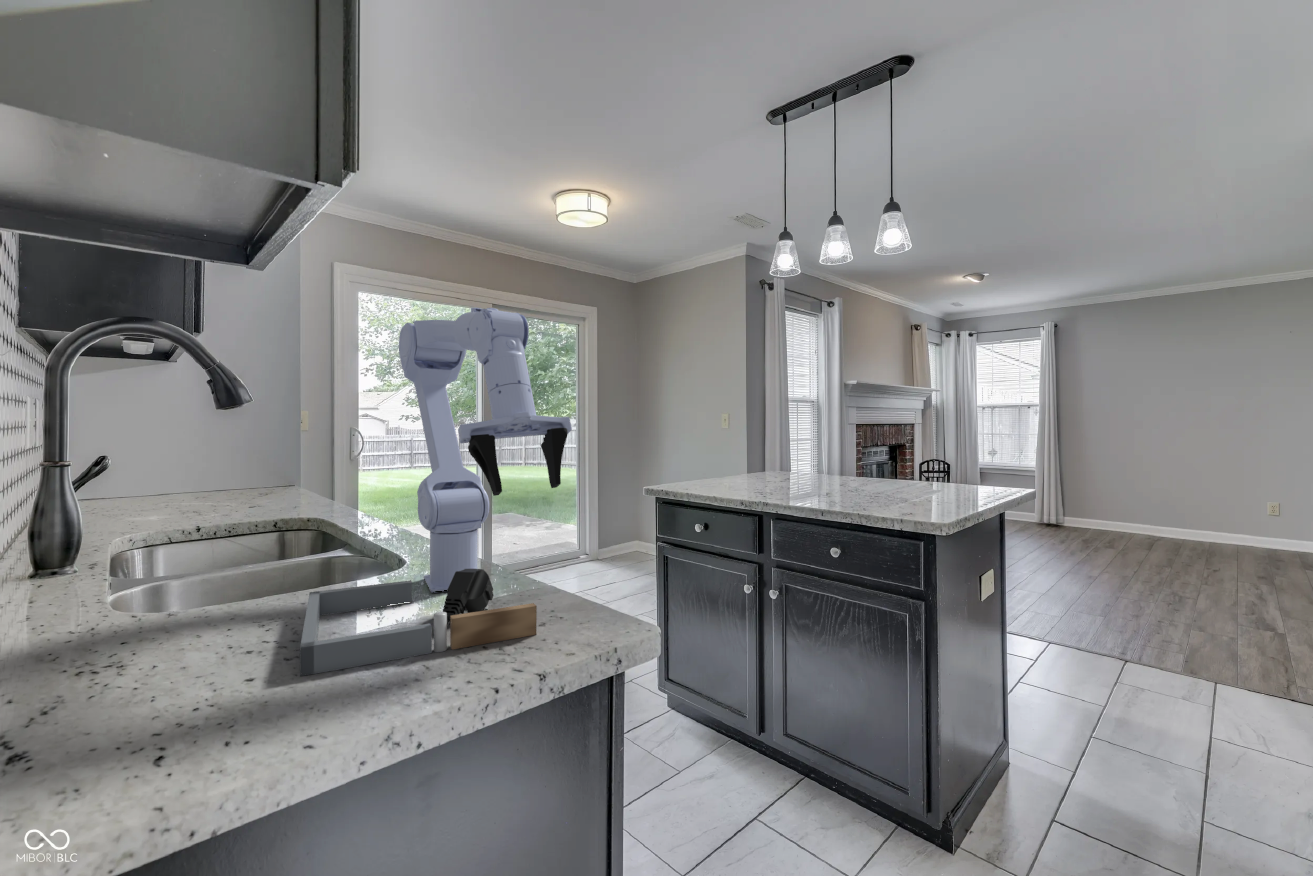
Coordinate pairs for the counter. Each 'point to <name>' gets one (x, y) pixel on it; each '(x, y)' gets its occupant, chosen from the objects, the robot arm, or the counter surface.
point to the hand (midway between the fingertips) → (527, 489)
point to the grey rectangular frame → (366, 645)
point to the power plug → (468, 592)
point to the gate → (492, 625)
